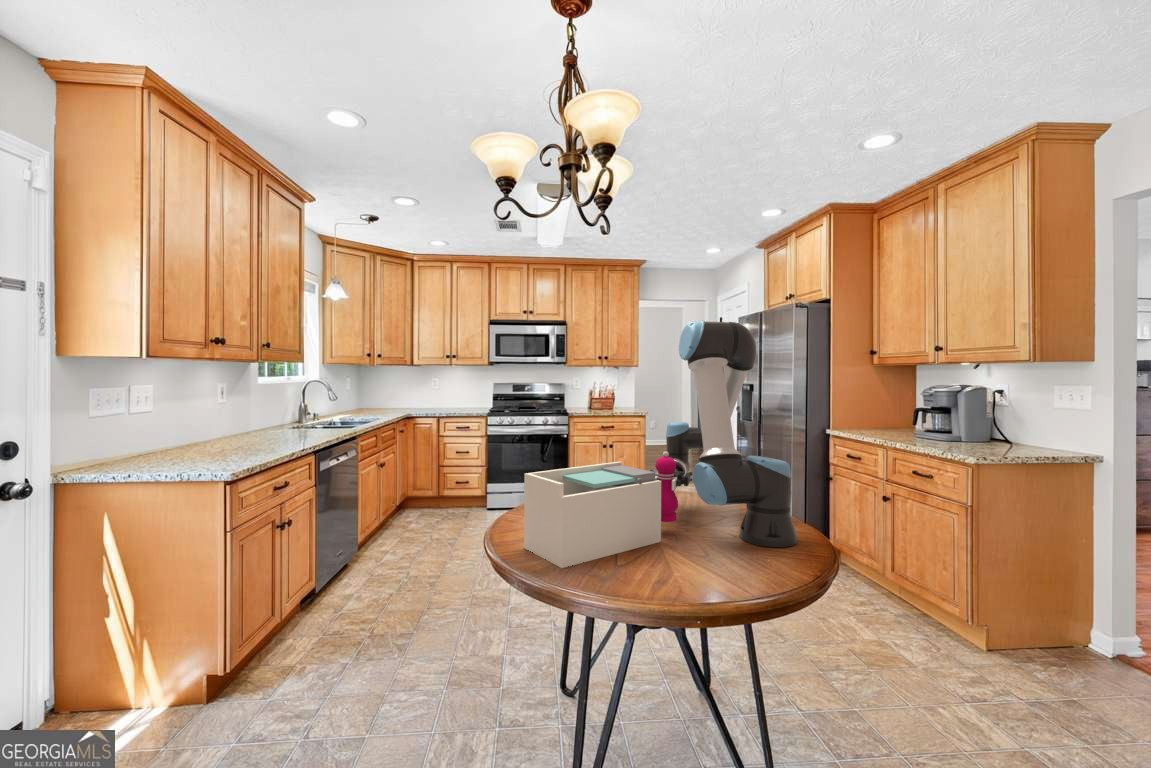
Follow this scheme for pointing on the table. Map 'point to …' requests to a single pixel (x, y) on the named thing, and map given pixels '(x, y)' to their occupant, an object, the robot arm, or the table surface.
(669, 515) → the pepper mill
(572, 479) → the trapdoor
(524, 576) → the table surface
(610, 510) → the frame
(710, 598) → the table surface
